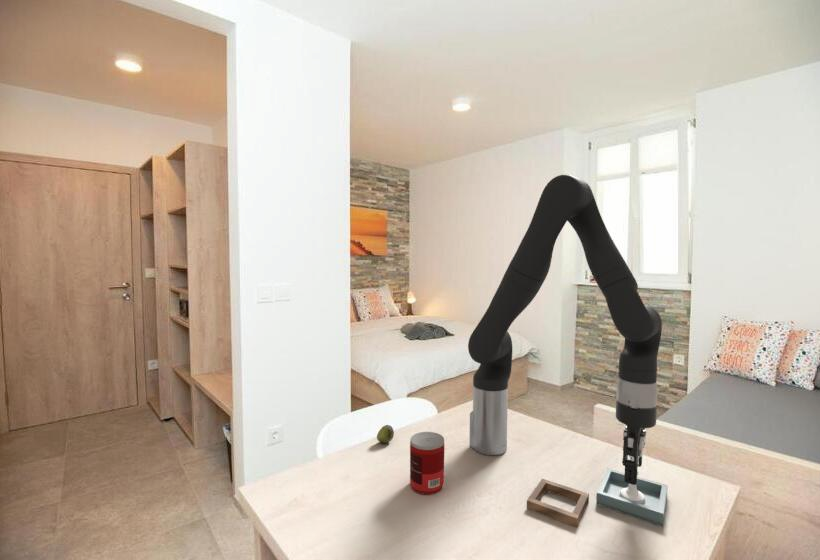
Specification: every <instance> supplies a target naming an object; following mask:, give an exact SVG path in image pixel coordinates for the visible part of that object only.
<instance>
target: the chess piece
mask: <svg viewBox="0 0 820 560" xmlns="http://www.w3.org/2000/svg"><path fill="white" fill-rule="evenodd" d="M630 457H631V458H632V459H630ZM628 460H632V461H634V457H633V456H629V455H628ZM638 464H639V462H638ZM639 474H640V473H639V471H638V470H637V476H639ZM619 495H620V497H621V498H624V499H627V500H630V501H633V502H637V503H640V504H643V503H645V496H644V495H643V493H641V492H640V491H638V490H637V487H636V485H632V484H629V485H628V487H627V488H622V489H621V490H620V493H619Z"/></svg>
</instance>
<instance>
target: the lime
mask: <svg viewBox="0 0 820 560" xmlns="http://www.w3.org/2000/svg"><path fill="white" fill-rule="evenodd" d="M394 437H395V431H394V427H392V426H391V425H389V424H385V425H383V426H382V427H381V428H380V429H379V430H378V432H377V435H376V440H377V441H378V442H379V443H382V444H387V443H389V442H391V441H392V440H393V438H394Z"/></svg>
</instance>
